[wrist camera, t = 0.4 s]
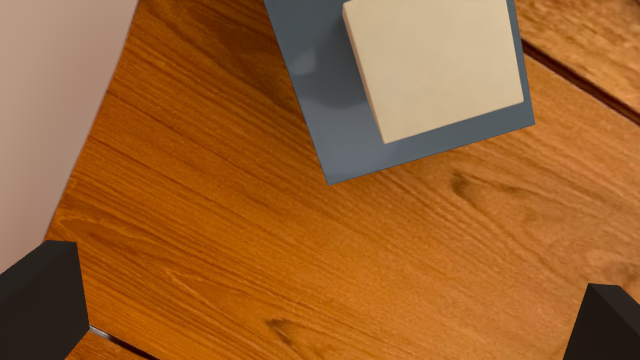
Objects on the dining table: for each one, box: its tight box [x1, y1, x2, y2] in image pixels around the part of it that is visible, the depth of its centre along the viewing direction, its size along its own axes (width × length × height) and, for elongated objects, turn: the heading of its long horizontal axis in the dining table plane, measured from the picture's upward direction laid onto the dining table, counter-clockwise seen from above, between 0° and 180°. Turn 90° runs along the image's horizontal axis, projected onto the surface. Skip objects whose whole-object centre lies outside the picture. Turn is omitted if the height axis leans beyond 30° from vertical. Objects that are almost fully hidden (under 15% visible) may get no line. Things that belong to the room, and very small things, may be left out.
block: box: [342, 0, 524, 144], centre depth 19 cm, size 5×5×10 cm
